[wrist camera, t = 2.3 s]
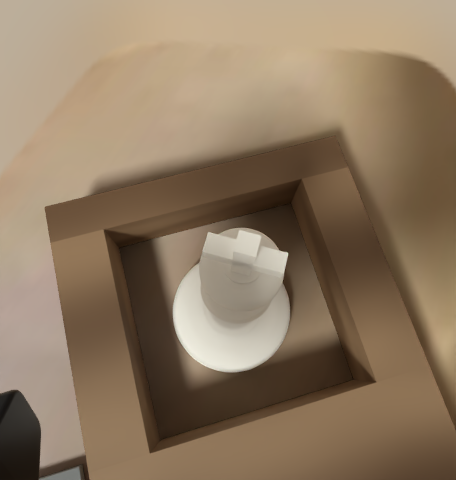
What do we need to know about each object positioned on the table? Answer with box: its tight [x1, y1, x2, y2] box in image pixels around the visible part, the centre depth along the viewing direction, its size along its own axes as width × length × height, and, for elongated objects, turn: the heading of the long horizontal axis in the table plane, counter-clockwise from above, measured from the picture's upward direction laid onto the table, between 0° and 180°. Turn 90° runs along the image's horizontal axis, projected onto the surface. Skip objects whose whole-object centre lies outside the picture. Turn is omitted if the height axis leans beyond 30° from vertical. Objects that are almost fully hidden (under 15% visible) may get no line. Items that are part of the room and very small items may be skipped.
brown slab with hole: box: [45, 136, 456, 480], centre depth 15 cm, size 18×12×2 cm
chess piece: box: [173, 228, 290, 372], centre depth 12 cm, size 5×5×10 cm
